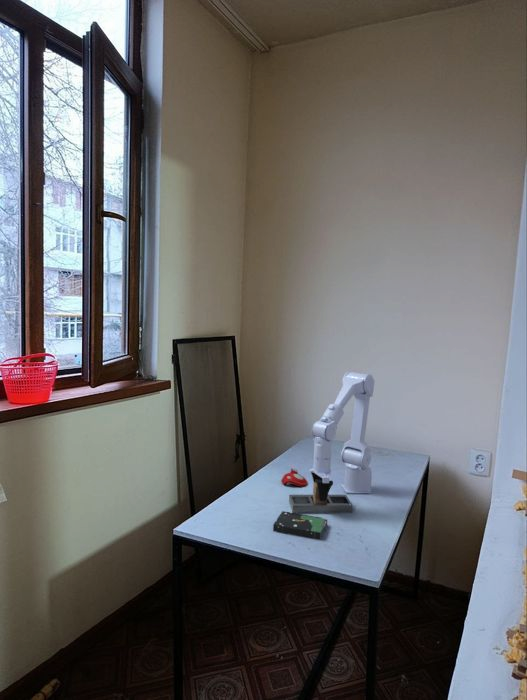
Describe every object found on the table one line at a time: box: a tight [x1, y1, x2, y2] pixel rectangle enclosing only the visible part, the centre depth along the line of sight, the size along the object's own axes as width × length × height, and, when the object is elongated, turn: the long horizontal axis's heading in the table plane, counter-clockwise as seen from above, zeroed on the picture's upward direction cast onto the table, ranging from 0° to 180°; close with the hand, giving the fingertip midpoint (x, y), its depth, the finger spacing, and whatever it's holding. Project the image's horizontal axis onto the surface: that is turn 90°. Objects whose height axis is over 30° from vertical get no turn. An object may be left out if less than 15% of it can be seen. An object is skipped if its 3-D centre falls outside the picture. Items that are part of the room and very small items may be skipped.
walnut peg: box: [312, 481, 327, 503], centre depth 164 cm, size 4×4×8 cm
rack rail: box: [288, 494, 354, 514], centre depth 164 cm, size 20×9×2 cm, turn 95°
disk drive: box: [272, 510, 328, 541], centre depth 149 cm, size 10×3×15 cm
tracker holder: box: [280, 467, 308, 488], centre depth 186 cm, size 13×5×10 cm
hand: (320, 495), depth 164 cm, fingers open, 7 cm apart
